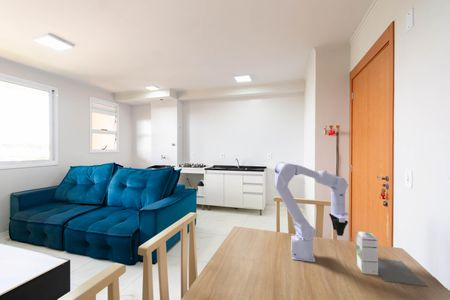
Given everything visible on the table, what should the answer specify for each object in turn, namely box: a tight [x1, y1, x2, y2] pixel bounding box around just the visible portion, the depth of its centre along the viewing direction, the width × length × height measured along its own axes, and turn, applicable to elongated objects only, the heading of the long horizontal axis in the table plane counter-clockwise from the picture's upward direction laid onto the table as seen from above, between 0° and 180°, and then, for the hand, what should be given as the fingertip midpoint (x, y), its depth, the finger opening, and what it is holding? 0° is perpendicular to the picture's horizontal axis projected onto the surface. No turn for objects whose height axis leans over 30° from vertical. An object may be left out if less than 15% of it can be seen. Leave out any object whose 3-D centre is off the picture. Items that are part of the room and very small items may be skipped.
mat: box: [378, 258, 428, 287], centre depth 82 cm, size 13×16×1 cm
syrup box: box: [355, 231, 379, 276], centre depth 83 cm, size 6×6×14 cm
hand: (338, 232), depth 95 cm, fingers open, 6 cm apart
